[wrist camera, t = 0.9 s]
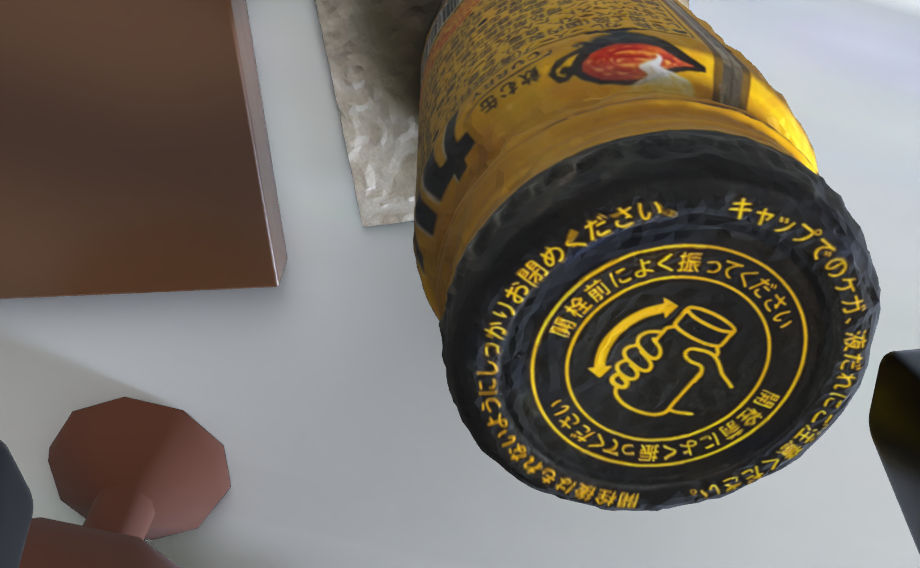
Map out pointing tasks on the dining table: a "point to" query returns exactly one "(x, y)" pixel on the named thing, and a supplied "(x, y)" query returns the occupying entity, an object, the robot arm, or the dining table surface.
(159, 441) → the ice cream bowl
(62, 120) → the walnut board
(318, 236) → the dining table surface
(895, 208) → the dining table surface
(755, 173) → the condiment
